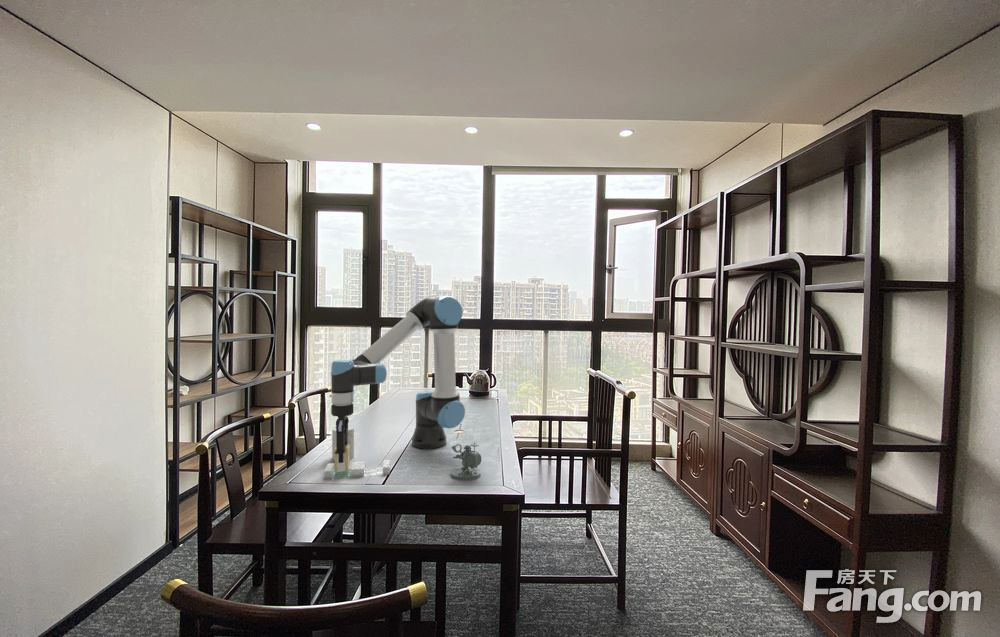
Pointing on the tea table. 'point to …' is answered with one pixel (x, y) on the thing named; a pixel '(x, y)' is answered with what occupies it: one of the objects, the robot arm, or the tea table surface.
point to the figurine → (467, 463)
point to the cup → (350, 442)
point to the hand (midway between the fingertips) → (342, 468)
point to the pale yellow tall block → (345, 458)
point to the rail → (357, 470)
